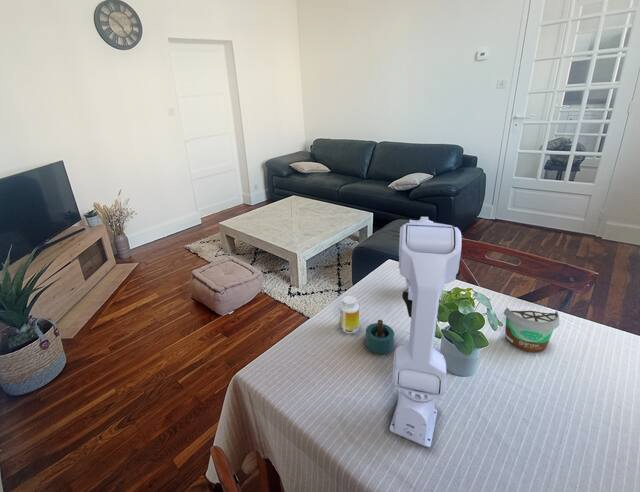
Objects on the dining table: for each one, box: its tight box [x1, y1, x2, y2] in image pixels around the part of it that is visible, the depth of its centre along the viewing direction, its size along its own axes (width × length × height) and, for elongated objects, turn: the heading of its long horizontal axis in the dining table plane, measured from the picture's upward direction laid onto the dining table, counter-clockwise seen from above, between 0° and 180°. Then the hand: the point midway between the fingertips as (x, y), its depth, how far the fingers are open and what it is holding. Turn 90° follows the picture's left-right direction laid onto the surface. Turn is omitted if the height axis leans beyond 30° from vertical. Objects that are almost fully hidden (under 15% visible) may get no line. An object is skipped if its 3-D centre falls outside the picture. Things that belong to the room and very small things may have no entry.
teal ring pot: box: [365, 322, 395, 355], centre depth 93 cm, size 7×7×4 cm
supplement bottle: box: [339, 295, 360, 334], centre depth 100 cm, size 6×6×10 cm
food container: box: [503, 307, 561, 354], centre depth 87 cm, size 12×6×10 cm, turn 76°
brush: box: [375, 319, 385, 338], centre depth 93 cm, size 3×3×8 cm
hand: (416, 309), depth 91 cm, fingers open, 7 cm apart
